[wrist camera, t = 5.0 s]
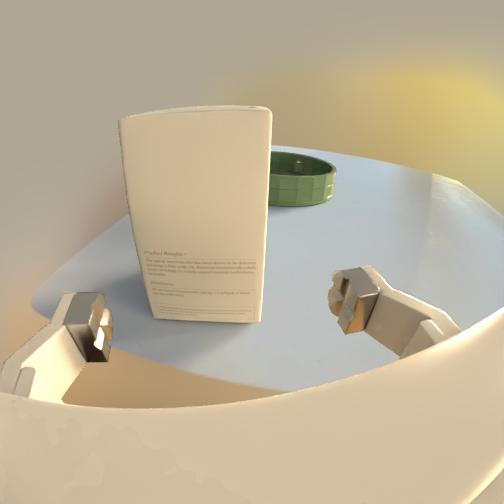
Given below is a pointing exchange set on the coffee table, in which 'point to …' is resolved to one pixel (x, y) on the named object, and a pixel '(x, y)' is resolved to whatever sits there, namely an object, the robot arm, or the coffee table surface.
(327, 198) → the bowl
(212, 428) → the robot arm
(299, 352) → the coffee table surface
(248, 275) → the white packaging box
